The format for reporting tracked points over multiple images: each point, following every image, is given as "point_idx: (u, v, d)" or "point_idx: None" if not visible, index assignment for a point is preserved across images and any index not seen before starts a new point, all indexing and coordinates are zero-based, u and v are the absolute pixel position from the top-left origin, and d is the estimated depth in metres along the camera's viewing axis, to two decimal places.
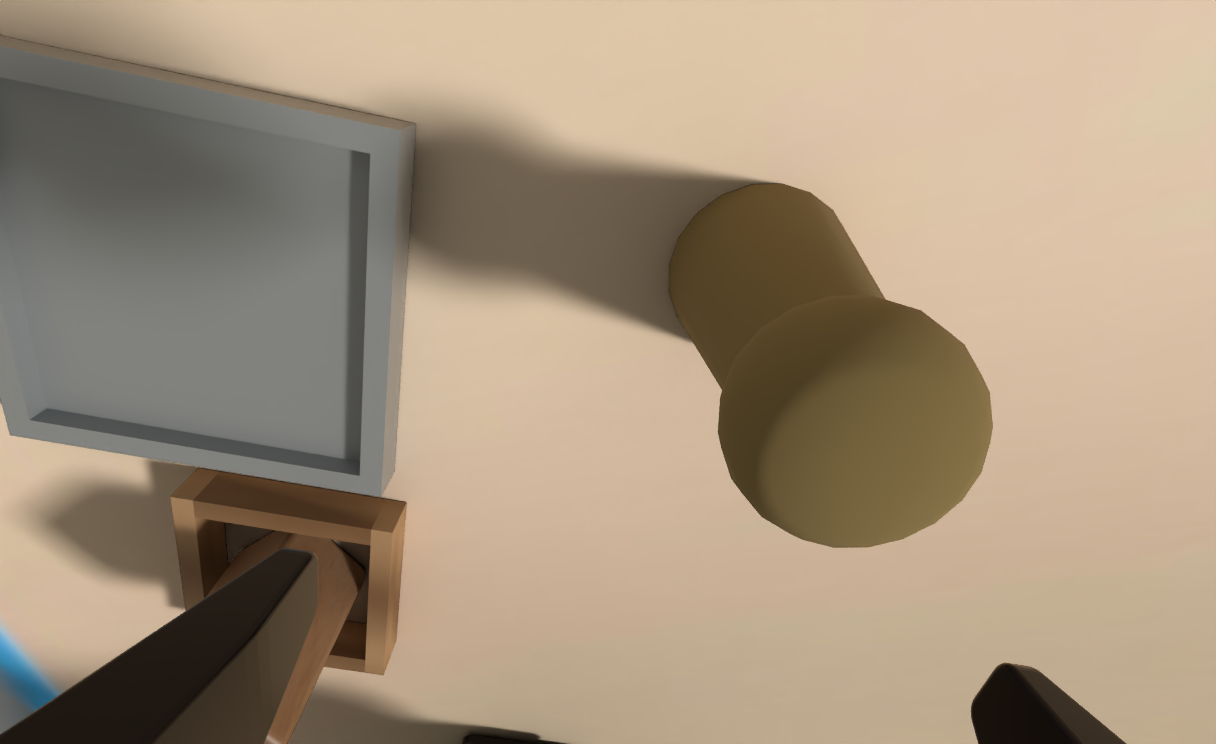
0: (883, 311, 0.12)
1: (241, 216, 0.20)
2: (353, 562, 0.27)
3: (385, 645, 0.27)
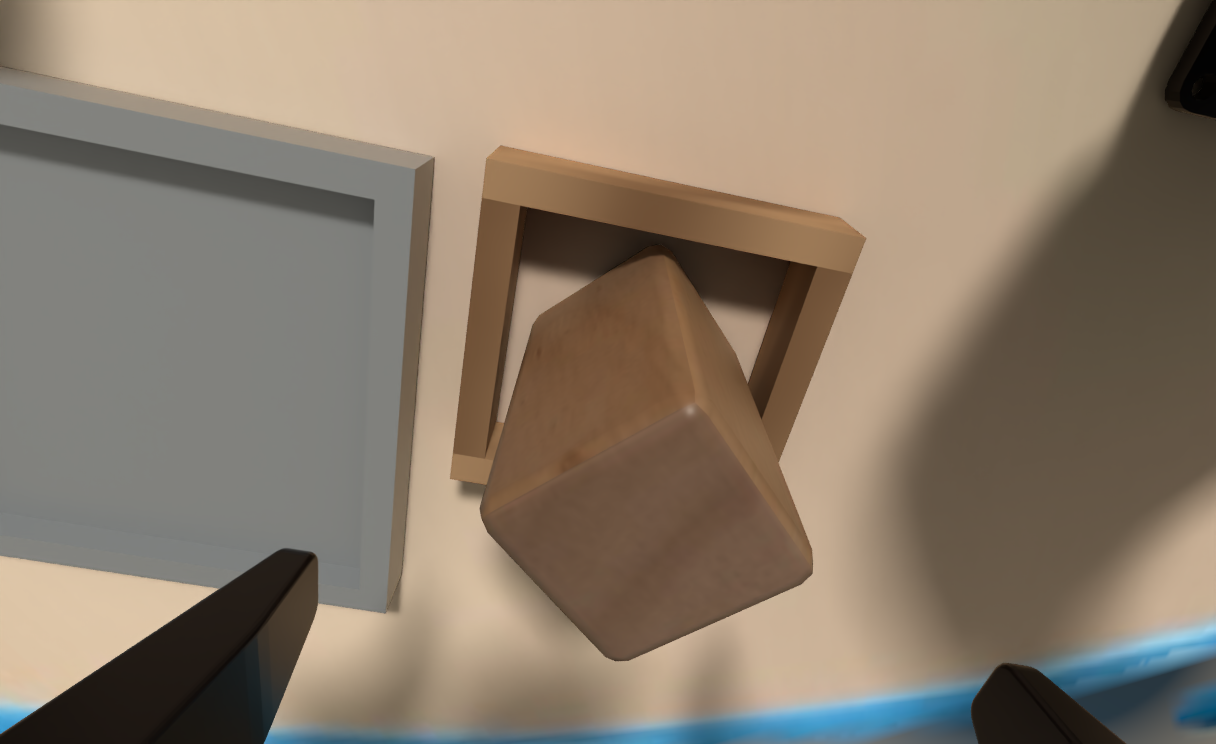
0: None
1: (19, 290, 0.16)
2: (628, 259, 0.16)
3: (784, 220, 0.14)
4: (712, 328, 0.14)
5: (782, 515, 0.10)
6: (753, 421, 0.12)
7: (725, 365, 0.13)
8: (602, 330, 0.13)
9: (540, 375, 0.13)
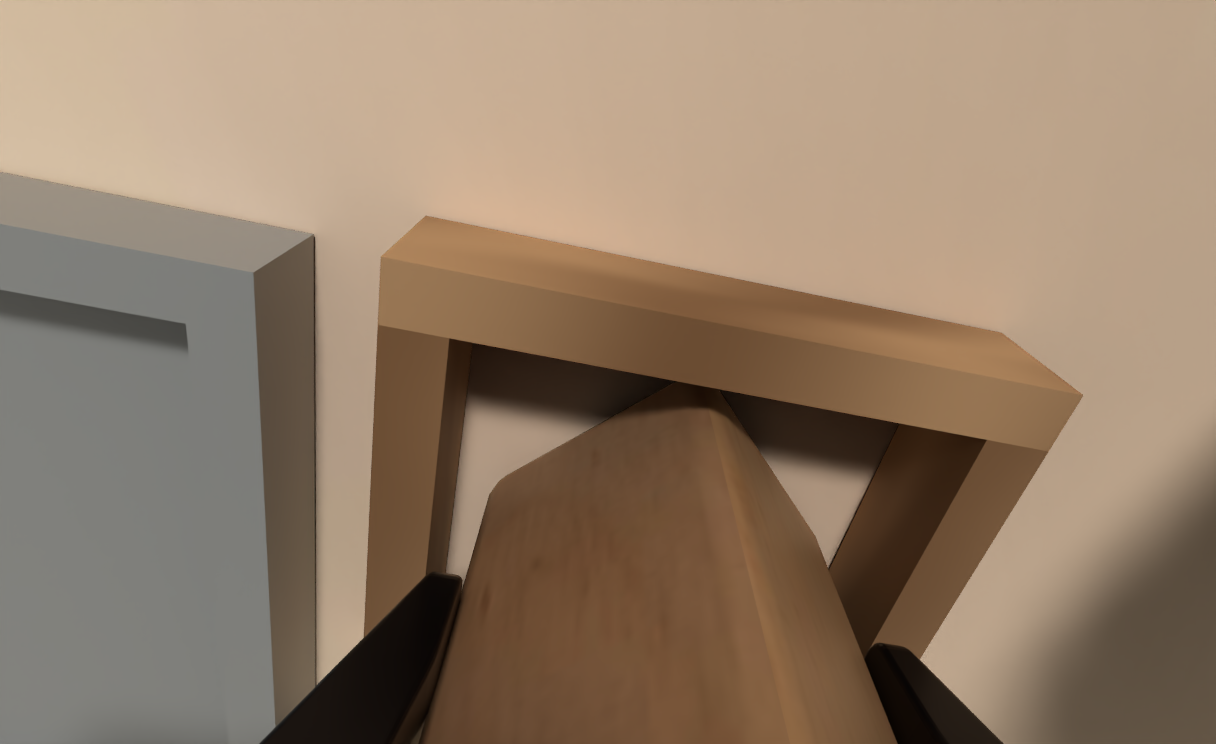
0: None
1: None
2: (646, 399, 0.09)
3: (934, 364, 0.07)
4: (794, 539, 0.08)
5: None
6: None
7: (838, 661, 0.07)
8: (600, 605, 0.06)
9: (478, 691, 0.06)
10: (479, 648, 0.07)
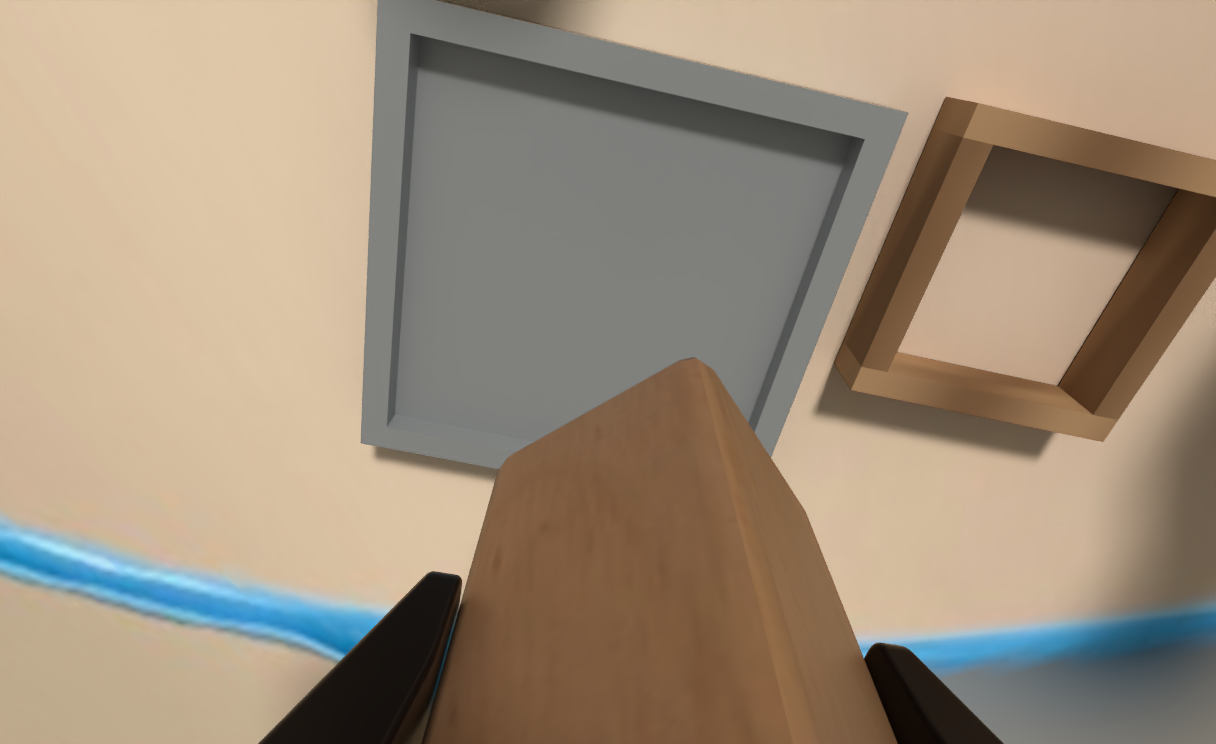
0: None
1: (511, 218, 0.18)
2: (646, 379, 0.10)
3: (1215, 160, 0.16)
4: (783, 508, 0.09)
5: None
6: None
7: (821, 613, 0.07)
8: (604, 558, 0.07)
9: (492, 638, 0.07)
10: (492, 602, 0.08)
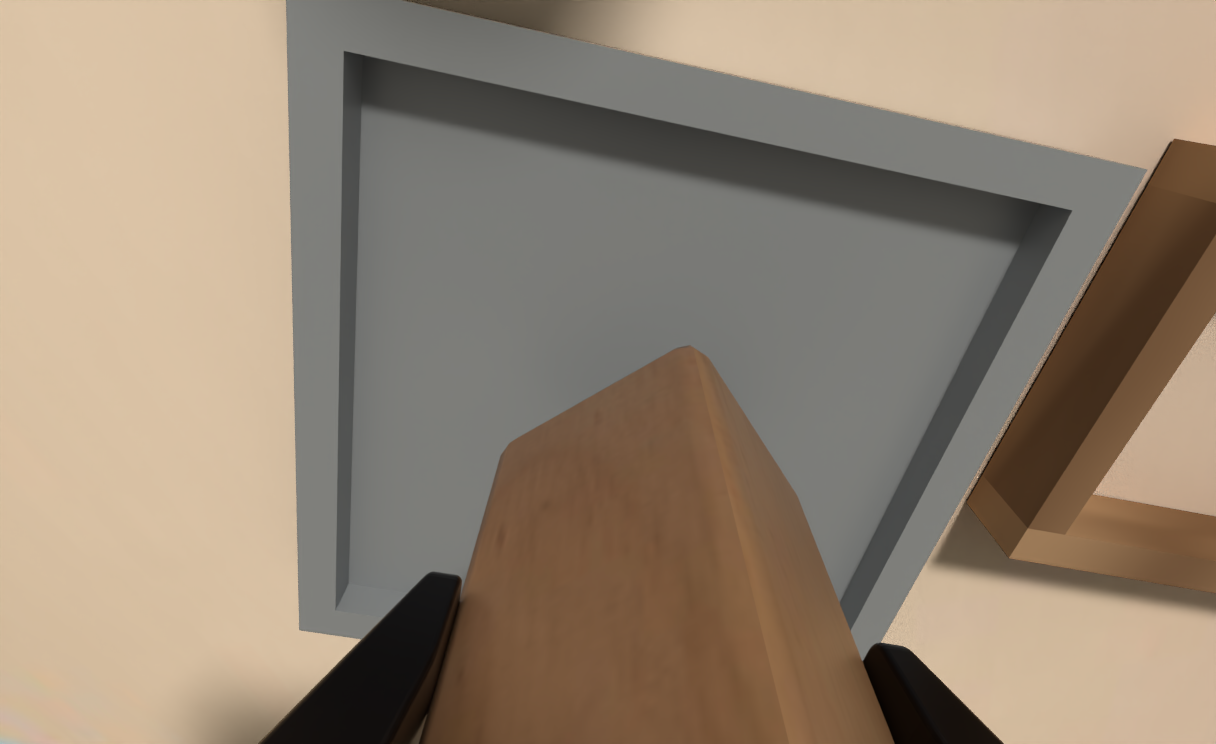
0: None
1: (511, 324, 0.12)
2: (643, 367, 0.10)
3: None
4: (774, 488, 0.09)
5: None
6: (865, 704, 0.07)
7: (808, 584, 0.08)
8: (602, 531, 0.07)
9: (497, 605, 0.07)
10: (496, 574, 0.08)
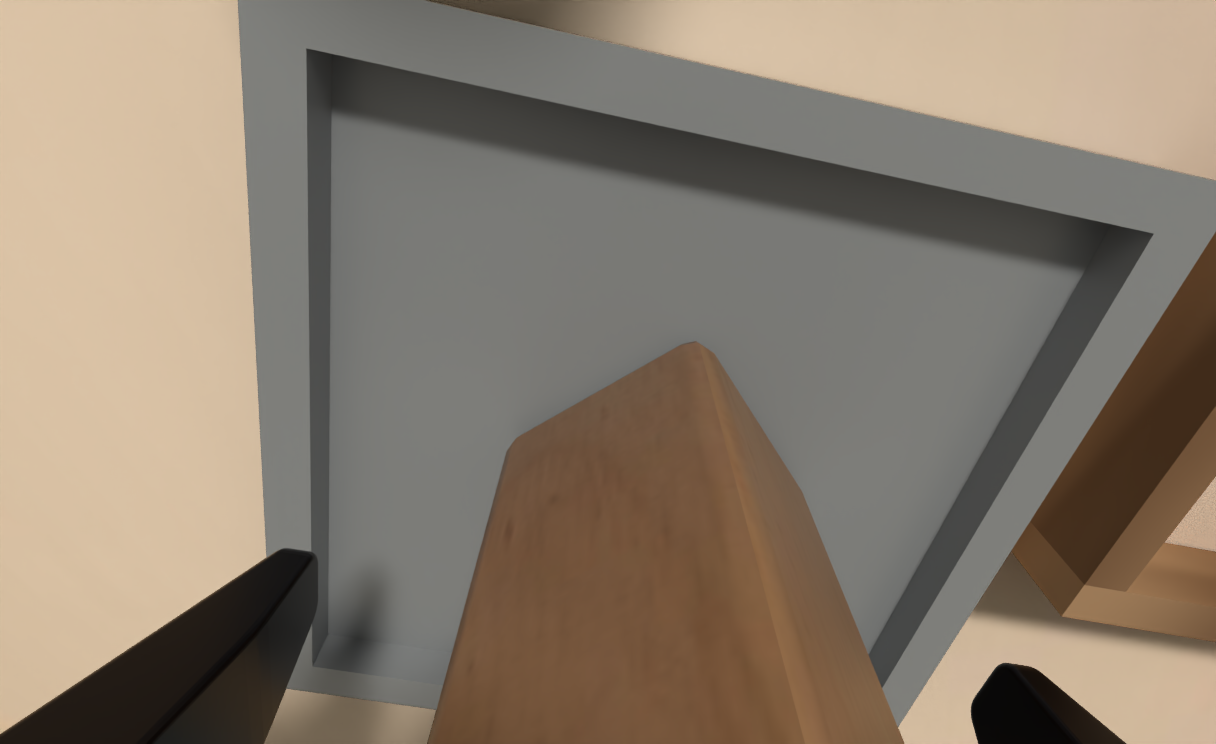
0: None
1: (505, 358, 0.11)
2: (649, 362, 0.10)
3: None
4: (780, 483, 0.09)
5: None
6: (872, 696, 0.07)
7: (815, 577, 0.08)
8: (611, 524, 0.07)
9: (506, 598, 0.07)
10: (504, 568, 0.08)
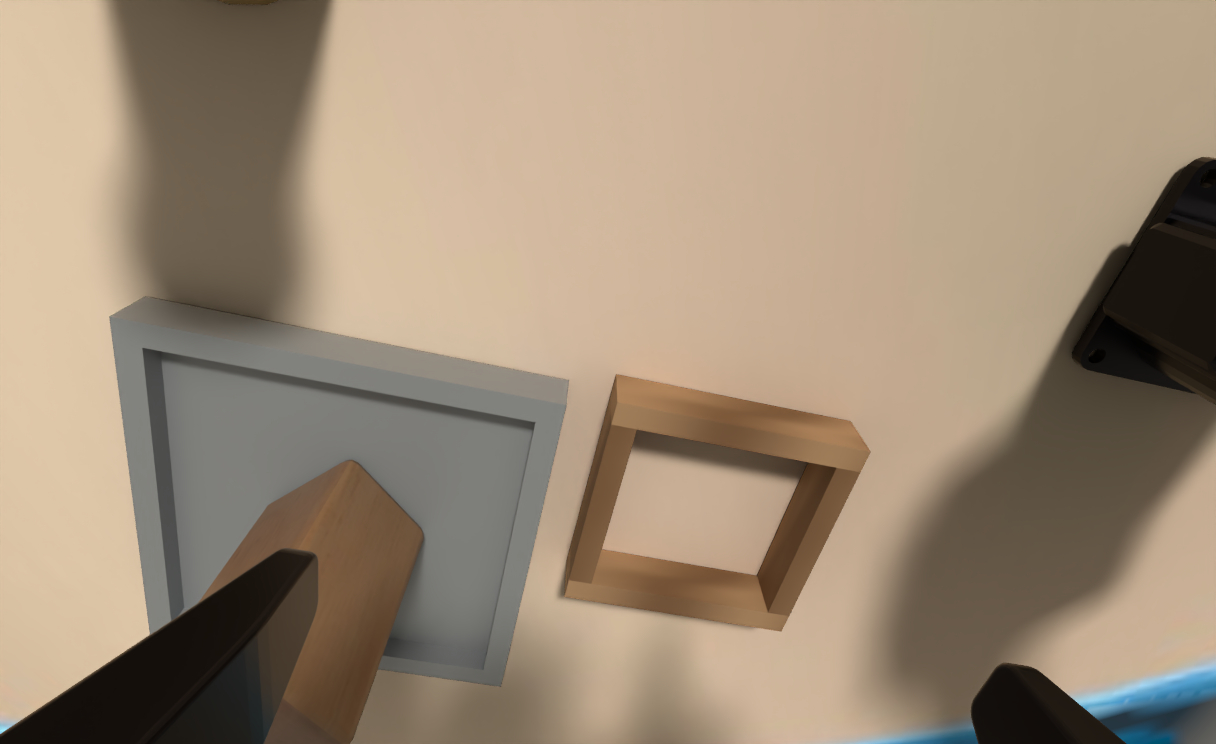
0: None
1: (260, 465, 0.21)
2: None
3: (815, 440, 0.20)
4: (374, 532, 0.20)
5: (316, 714, 0.15)
6: (360, 622, 0.18)
7: (355, 575, 0.18)
8: (263, 553, 0.18)
9: (219, 584, 0.18)
10: (226, 571, 0.19)
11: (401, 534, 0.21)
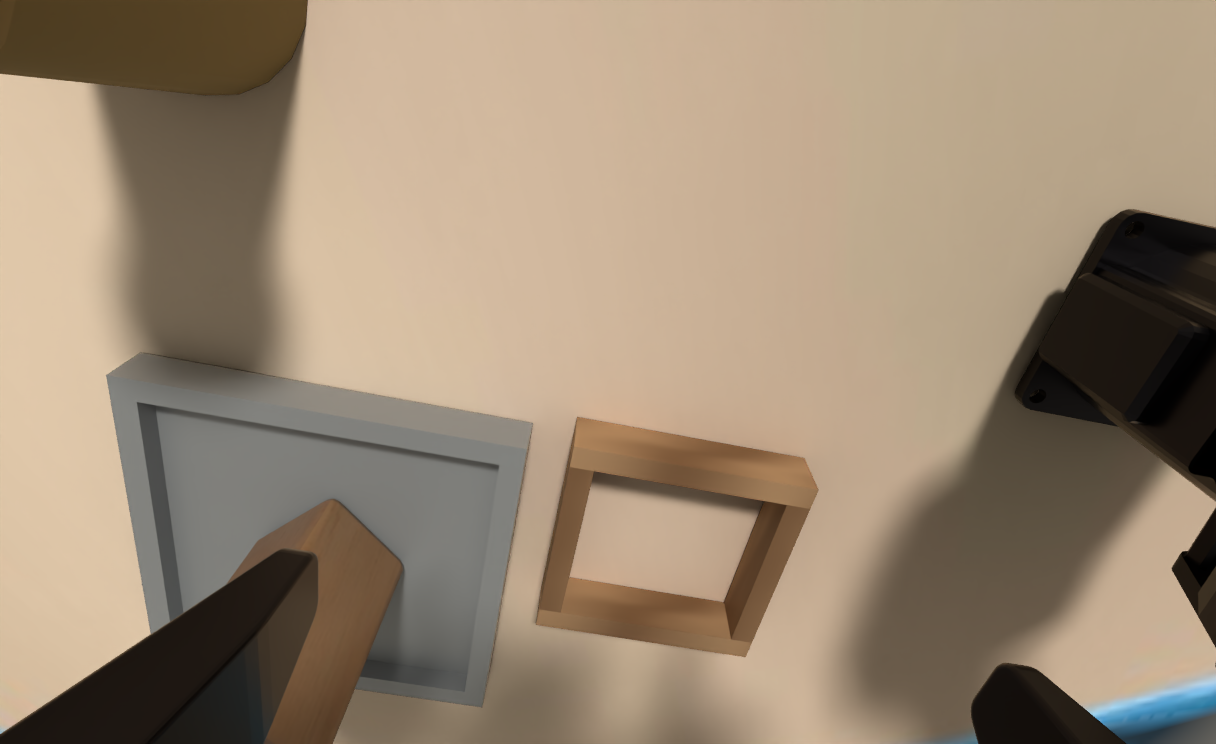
0: None
1: (250, 503, 0.23)
2: (312, 508, 0.23)
3: (764, 479, 0.21)
4: (352, 567, 0.22)
5: None
6: (334, 655, 0.19)
7: (331, 610, 0.20)
8: None
9: None
10: None
11: (379, 568, 0.23)
